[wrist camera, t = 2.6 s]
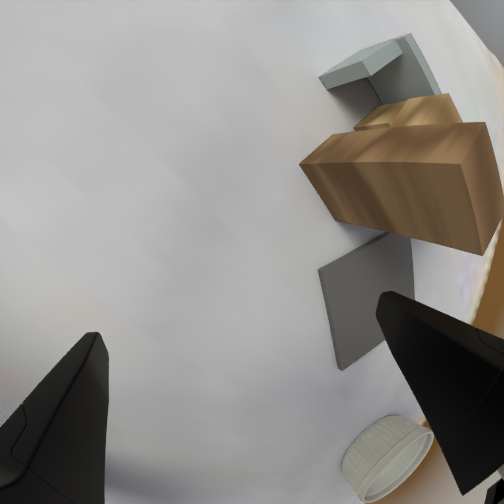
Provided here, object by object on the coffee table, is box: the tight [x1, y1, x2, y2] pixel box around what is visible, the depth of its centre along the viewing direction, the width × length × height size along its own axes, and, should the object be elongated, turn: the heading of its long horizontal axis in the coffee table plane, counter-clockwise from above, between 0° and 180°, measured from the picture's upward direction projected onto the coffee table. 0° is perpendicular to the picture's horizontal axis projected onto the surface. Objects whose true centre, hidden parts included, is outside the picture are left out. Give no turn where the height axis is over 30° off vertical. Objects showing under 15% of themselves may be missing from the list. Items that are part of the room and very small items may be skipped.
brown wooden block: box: [299, 122, 504, 256], centre depth 18 cm, size 4×6×13 cm
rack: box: [319, 33, 442, 105], centre depth 22 cm, size 6×14×6 cm, turn 40°
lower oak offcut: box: [353, 101, 407, 131], centre depth 23 cm, size 4×4×4 cm
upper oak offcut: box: [389, 93, 463, 128], centre depth 19 cm, size 4×4×4 cm
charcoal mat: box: [318, 232, 415, 371], centre depth 28 cm, size 11×11×1 cm
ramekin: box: [342, 415, 434, 503], centre depth 33 cm, size 13×13×7 cm
